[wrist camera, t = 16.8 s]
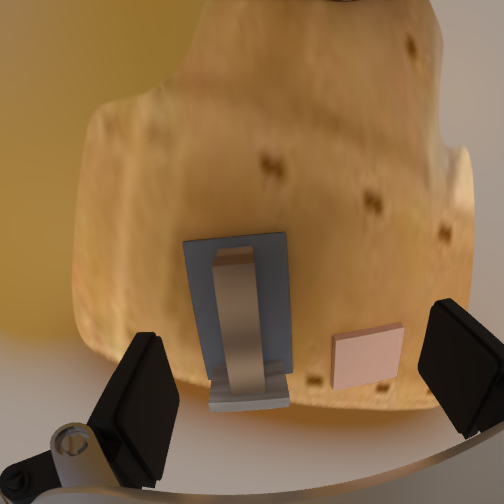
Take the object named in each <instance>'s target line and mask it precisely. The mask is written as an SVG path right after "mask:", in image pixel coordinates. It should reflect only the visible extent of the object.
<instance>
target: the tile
mask: <svg viewBox="0 0 504 504" xmlns="http://www.w3.org/2000/svg"><path fill="white" fill-rule="evenodd" d="M404 328H405V327H404V326H403V325H402V324H401V323H400V322H399V323H394V324H389V325H384V326H379V327H374V328H369V329H364V330H359V331H353V332H347V333H341V334H335V335H333V349H332V372H331V386H332V389H333V391H335V390H340V389H345V388H350V387H355V386H359V385H364V384H368V383H373V382H377V381H381V380H385V379H389V378H393V377H396V375H397V370H398V365H399V359H400V354H401V348H402V342H403V335H404Z"/></svg>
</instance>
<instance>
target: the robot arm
mask: <svg viewBox="0 0 504 504" xmlns="http://www.w3.org/2000/svg"><path fill="white" fill-rule="evenodd" d="M343 1H350V0H343ZM418 371H419V374H420V375H421V377H422V378H423V380H424V381H425V383H426V384H427V386H428V387H429V388H430V390H431V391H432V393H433V394H434V396H435V397H436V399H437V401H438V402H439V404H440V405H441V406H442V408H443V409H444V411H445V413H446V414H447V416H448V418H449V419H450V421H451V422H452V424H453V425H454V427H455V429H456V430H457V432H458V433H462V435H463V436H464V438H465V440H466V439H468V438H470V437H472V436H474V435H476V434H477V433H478V431H480V432H481V434H479V435H477V436H475V437H473V438H471V439H469V440H467V441H465V442H463V443H461V444H458V445H456V446H454V447H452V448H450V449H447V450H445V451H443V452H440V453H438V454H435V455H433V456H430V457H428V458H425V459H423V460H420V461H418V462H415V463H412V464H409V465H406V466H403V467H400V468H397V469H394V470H391V471H387V472H384V473H380V474H377V475H373V476H370V477H366V478H362V479H358V480H354V481H349V482H344V483H340V484H335V485H329V486H324V487H318V488H312V489H305V490H297V491H289V492H280V493H268V494H250V495H202V494H183V493H170V492H160V491H152V490H142V486H143V487H150V488H155V485H156V480H159V481H160V480H161V478H162V475H163V471H164V466H165V462H166V457H167V453H168V449H169V444H170V440H171V436H172V432H173V427H174V423H175V419H176V415H177V411H178V407H179V393H178V390H177V387H176V384H175V381H174V378H173V375H172V372H171V369H170V365H169V362H168V359H167V356H166V352H165V349H164V345H163V342H162V339H161V337H160V336H156V334H155V333H154V332H138V333H136V335H135V337H134V338H133V340H132V342H131V344H130V345H129V347H128V349H127V351H126V352H125V354H124V356H123V358H122V359H121V361H120V363H119V365H118V367H117V368H116V370H115V372H114V373H113V375H112V377H111V378H110V380H109V382H108V384H107V386H106V388H105V389H104V391H103V393H102V395H101V397H100V399H99V401H98V403H97V405H96V407H95V408H94V410H93V412H92V414H91V416H90V418H89V420H88V422H87V424H82V423H69V424H65V425H63V426H62V427H60V428H59V429H57V430H56V431H55V433H54V434H53V435H52V437H51V441H50V449H51V450H49V451H46V452H44V453H41V454H39V455H36V456H34V457H31V458H29V459H26V460H23V461H21V462H18V463H15V464H12V465H10V466H8V467H7V468H6V469H5V470H4V471H3V472H2V474H1V476H0V504H504V344H503V343H501V341H499V340H498V339H497V338H496V337H495V336H494V335H493V334H492V333H491V332H489V331H488V330H487V329H486V328H485V327H484V326H483V325H482V324H481V323H479V322H478V321H477V320H476V319H475V318H474V317H472V316H471V315H470V314H469V313H468V312H467V311H465V310H464V309H463V308H462V307H461V306H459V305H458V304H457V303H456V302H455V301H453V300H452V299H450V298H447V299H442V300H438V301H436V302H435V303H434V305H433V306H432V307H431V310H430V315H429V320H428V325H427V329H426V334H425V338H424V342H423V347H422V351H421V354H420V358H419V362H418Z"/></svg>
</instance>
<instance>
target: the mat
mask: <svg viewBox="0 0 504 504" xmlns="http://www.w3.org/2000/svg"><path fill="white" fill-rule="evenodd" d="M247 246H253V254H254V265H255V276H256V287H257V299H258V310H259V322H260V333H261V345H262V356H263V360H274V359H282V360H283V365H284V370H285V374H289V373H293V364H292V335H291V311H290V291H289V273H288V256H287V241H286V232H275V233H264V234H254V235H243V236H233V237H223V238H213V239H203V240H193V241H184V242H183V249H184V256H185V262H186V268H187V274H188V280H189V286H190V292H191V298H192V303H193V309H194V314H195V319H196V324H197V329H198V334H199V339H200V344H201V349H202V354H203V358H204V363H205V367H206V372H207V376H208V380H212V374H213V367H214V364H221V363H226V359H225V353H224V347H223V340H222V334H221V327H220V321H219V314H218V307H217V300H216V293H215V286H214V279H213V271H212V265H213V262H214V259H215V256H216V254H217V251H218V249H224V248H236V247H247Z"/></svg>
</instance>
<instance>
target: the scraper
mask: <svg viewBox="0 0 504 504" xmlns="http://www.w3.org/2000/svg"><path fill="white" fill-rule="evenodd" d="M212 271H213V279H214V286H215V293H216V300H217V307H218V314H219V321H220V327H221V334H222V340H223V347H224V353H225V359H226V363H221V364H214V367H213V374H212V381H211V388H210V395H209V407H210V411H211V412H228V411H247V410H261V409H271V408H282V407H290V397H289V391H288V386H287V381H286V376H285V370H284V365H283V360H282V359H274V360H263V356H262V345H261V333H260V322H259V310H258V299H257V287H256V276H255V265H254V254H253V246H247V247H236V248H224V249H218V251H217V254H216V256H215V259H214V262H213V265H212Z"/></svg>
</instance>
